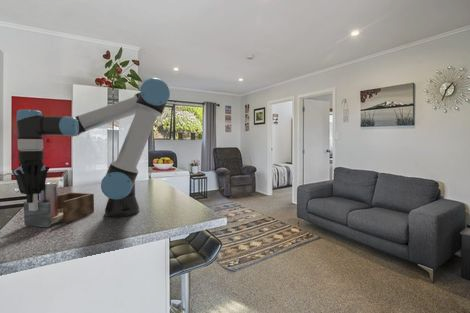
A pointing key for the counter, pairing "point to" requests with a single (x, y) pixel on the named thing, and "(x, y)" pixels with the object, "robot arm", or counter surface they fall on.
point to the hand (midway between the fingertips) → (33, 210)
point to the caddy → (75, 205)
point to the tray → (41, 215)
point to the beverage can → (50, 197)
